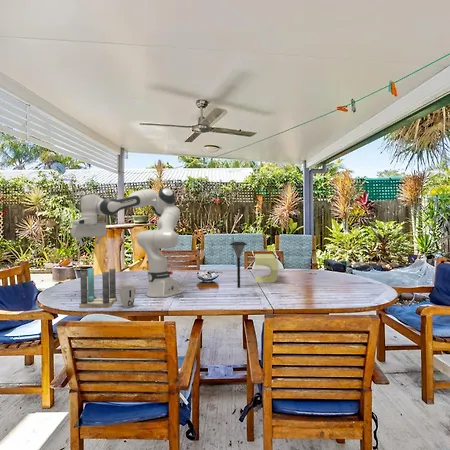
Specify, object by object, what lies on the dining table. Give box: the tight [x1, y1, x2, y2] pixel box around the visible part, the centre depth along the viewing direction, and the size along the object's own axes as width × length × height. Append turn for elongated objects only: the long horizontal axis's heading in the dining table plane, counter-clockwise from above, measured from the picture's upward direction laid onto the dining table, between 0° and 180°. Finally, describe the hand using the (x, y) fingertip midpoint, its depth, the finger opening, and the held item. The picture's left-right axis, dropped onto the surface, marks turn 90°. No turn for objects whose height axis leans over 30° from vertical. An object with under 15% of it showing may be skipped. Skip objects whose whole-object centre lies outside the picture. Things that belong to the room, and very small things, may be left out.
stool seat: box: [78, 268, 118, 309], centre depth 188 cm, size 16×16×18 cm
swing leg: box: [87, 267, 95, 301], centre depth 189 cm, size 11×3×16 cm, turn 20°
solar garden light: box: [229, 241, 248, 289], centre depth 228 cm, size 12×12×30 cm
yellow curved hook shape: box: [254, 253, 280, 283], centre depth 253 cm, size 30×16×18 cm, turn 175°
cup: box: [119, 285, 136, 309], centre depth 182 cm, size 8×8×10 cm
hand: (89, 244), depth 205 cm, fingers open, 8 cm apart
